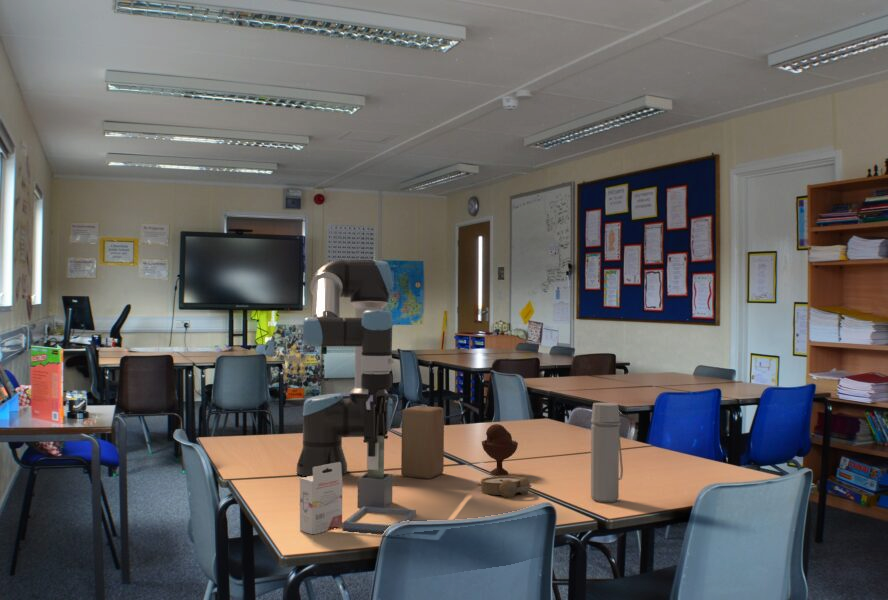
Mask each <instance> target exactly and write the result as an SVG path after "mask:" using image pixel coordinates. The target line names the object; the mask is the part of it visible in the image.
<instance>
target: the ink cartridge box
mask: <svg viewBox="0 0 888 600" xmlns="http://www.w3.org/2000/svg"><path fill="white" fill-rule="evenodd" d="M326 468H328V469H332V472H327V473H322V471H323V470H326ZM340 524H343V475H342V468H341V462H337V463H331V464H326V465H321V466H316V467H313V476H309V477H304V476H303V477H300V478H299V531H300V532H302V531H303V533H306V534H308V535H309V534H310V535H312V534H315V535H318V534H321V533H320V532H322V533H325V532H328V531H327V530H329V531H332V530H331V529H333V530H335V529H334V528H336V529H339V528H338V527H339V526H337V525H340ZM324 531H325V532H324ZM317 533H318V534H317Z"/></svg>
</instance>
